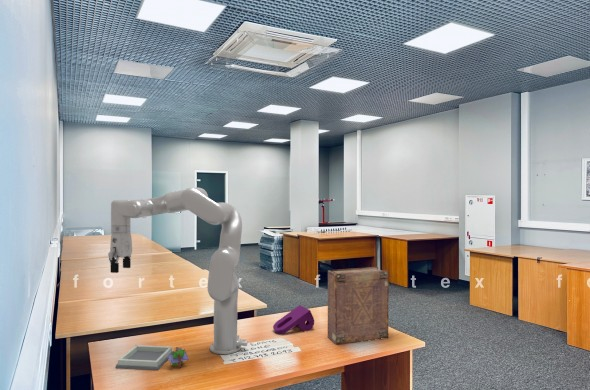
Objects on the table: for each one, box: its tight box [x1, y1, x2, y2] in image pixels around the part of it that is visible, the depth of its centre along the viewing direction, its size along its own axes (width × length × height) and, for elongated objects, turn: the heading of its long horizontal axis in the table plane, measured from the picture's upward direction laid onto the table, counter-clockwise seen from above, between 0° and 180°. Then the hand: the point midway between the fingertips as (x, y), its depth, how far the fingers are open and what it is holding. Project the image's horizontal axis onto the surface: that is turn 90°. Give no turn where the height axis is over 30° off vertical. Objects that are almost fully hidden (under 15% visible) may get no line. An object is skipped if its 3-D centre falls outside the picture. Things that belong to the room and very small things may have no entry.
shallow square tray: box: [115, 344, 175, 371], centre depth 154 cm, size 16×15×3 cm
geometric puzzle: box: [168, 346, 190, 368], centre depth 150 cm, size 7×7×8 cm
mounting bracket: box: [272, 304, 315, 335], centre depth 189 cm, size 9×8×18 cm
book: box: [327, 266, 390, 345], centre depth 179 cm, size 25×9×30 cm, turn 108°
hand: (120, 270), depth 170 cm, fingers open, 9 cm apart
